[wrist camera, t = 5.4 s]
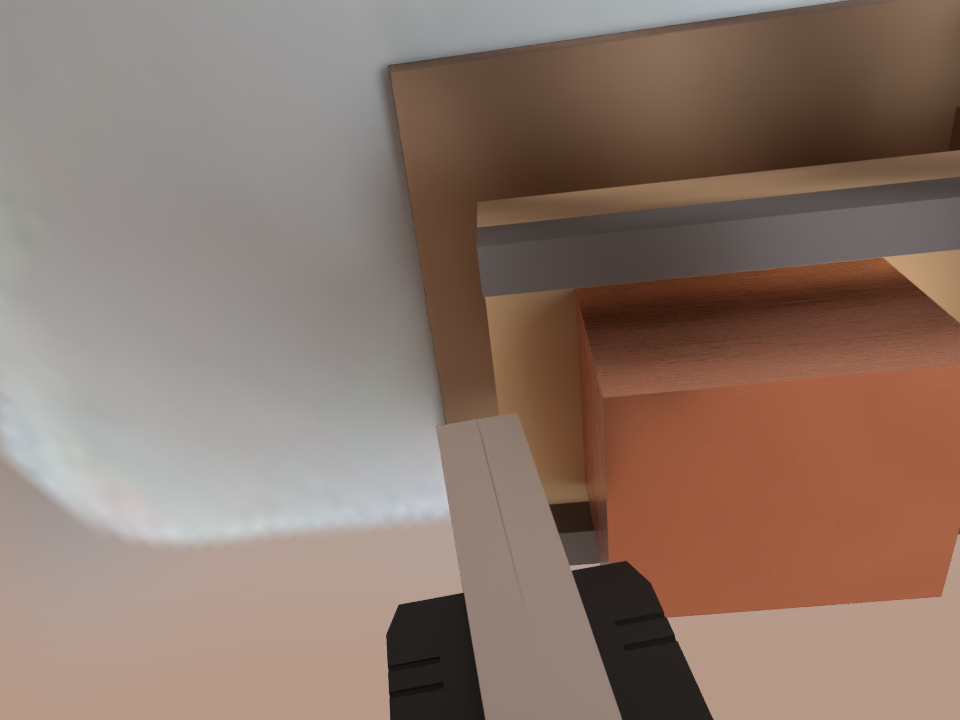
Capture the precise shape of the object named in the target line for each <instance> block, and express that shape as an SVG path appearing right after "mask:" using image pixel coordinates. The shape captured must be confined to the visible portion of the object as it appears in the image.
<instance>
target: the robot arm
mask: <svg viewBox="0 0 960 720" xmlns="http://www.w3.org/2000/svg"><path fill="white" fill-rule="evenodd" d="M436 429H437V435H438V441H439V447H440V453H441V460H442V466H443V472H444V478H445V485H446V491H447V497H448V503H449V509H450V516H451V522H452V528H453V534H454V540H455V546H456V552H457V558H458V564H459V570H460V576H461V582H462V588H463V593H460V594H455V595H449V596H444V597H438V598H433V599H428V600H423V601H417V602H412V603H406V604H401V605H399V606H398V608H397V610H396V613H395V615H394V617H393V620H392V622H391V625H390V627H389V630H388V632H387V635H386V638H387V659H388V669H389V673H388V678H389V694H390V720H713V718H712V716H711V714H710V711H709V709H708V707H707V705H706V703H705V701H704V698H703V696H702V694H701V692H700V689H699V687H698V685H697V683H696V681H695V679H694V676H693V674H692V672H691V670H690V668H689V665H688V663H687V661H686V659H685V657H684V654H683V652H682V650H681V648H680V646H679V644H678V642H677V641H676V639H675V635H674V633H673V630H672V628H671V626H670V624H669V622H668V619H667V617H665V615H664V611H663V608H662V606H661V604H660V602H659V600H658V598H657V595H656V593H655V591H654V589H653V587H652V584H651V583H650V582H649V581H648V580H647V579H646V578H645V577H644V576H643V575H642V574H640V573H639V572H638V571H637V570H636V569H635V568H634V567H633V566H632V565H631V564H630V563H628V562H627V561H622V562H616V563H611V564H606V565H600V566H596V567H589V568H584V569H579V570H574V571H571V569H570V565H569V562H568V560H567V557H566V554H565V551H564V548H563V545H562V542H561V539H560V536H559V533H558V530H557V527H556V524H555V521H554V519H553V516H552V513H551V510H550V507H549V504H548V501H547V498H546V495H545V492H544V489H543V486H542V483H541V480H540V478H539V475H538V472H537V469H536V466H535V463H534V460H533V457H532V454H531V451H530V448H529V445H528V442H527V439H526V437H525V434H524V431H523V428H522V425H521V422H520V419H519V416H518V413H511V414H505V415H499V416H493V417H488V418H482V419H476V420H470V421H464V422H458V423H452V424H446V425H440V426H436Z"/></svg>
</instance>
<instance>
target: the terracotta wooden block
mask: <svg viewBox="0 0 960 720" xmlns="http://www.w3.org/2000/svg"><path fill="white" fill-rule="evenodd" d="M575 297H576V316H577V334H578V353H579V372H580V390H581V409H582V428H583V447H584V465H585V484H586V490H587V495H588V500H589V506H590V511H591V517H592V522H593V527H594V533H595V538H596V544H597V549H598V554H599V560H600V565H606V564H611V563H616V562H622V561H627V562H628V563H630V564H631V565H632V566H633V567H634V568H635V569H636V570H637V571H638V572H639V573H640V574H642V575H643V576H644V577H645V578H646V579H647V580H648V581H649V582H650V583H651V584H652V587H653V589H654V591H655V593H656V595H657V598H658V600H659V602H660V604H661V606H662V608H663V611H664V615H665V617H680V616H693V615H707V614H720V613H733V612H746V611H759V610H771V609H784V608H798V607H811V606H824V605H836V604H850V603H862V602H876V601H889V600H902V599H914V598H928V597H941V595H942V591H943V588H944V584H945V580H946V576H947V573H948V569H949V565H950V562H951V558H952V554H953V550H954V546H955V543H956V539H957V535H958V531H959V528H960V323H959V322H958V321H957V320H956V319H954V318H953V317H952V316H951V315H950V314H948V313H947V312H946V311H945V310H944V309H943V308H941V307H940V306H939V305H938V304H937V303H936V302H934V301H933V300H932V299H931V298H930V297H929V296H927V295H926V294H925V293H924V292H923V291H922V290H920V289H919V288H918V287H917V286H916V285H915V284H913V283H912V282H911V281H910V280H909V279H908V278H906V277H905V276H904V275H903V274H902V273H900V272H899V271H898V270H897V269H896V268H895V267H893V266H892V265H891V264H890V263H889V262H888V261H886V260H885V259H884V258H876V259H866V260H856V261H846V262H836V263H826V264H816V265H806V266H796V267H786V268H776V269H766V270H756V271H746V272H736V273H726V274H716V275H706V276H696V277H686V278H676V279H666V280H656V281H646V282H636V283H626V284H616V285H606V286H596V287H587V288H577V289H575Z"/></svg>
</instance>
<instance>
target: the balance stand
mask: <svg viewBox="0 0 960 720" xmlns="http://www.w3.org/2000/svg"><path fill="white" fill-rule="evenodd" d="M388 66H389V72H390V79H391V85H392V91H393V97H394V103H395V110H396V116H397V122H398V128H399V135H400V141H401V147H402V153H403V159H404V166H405V172H406V178H407V184H408V190H409V197H410V203H411V209H412V215H413V222H414V228H415V234H416V240H417V246H418V253H419V259H420V265H421V271H422V277H423V284H424V290H425V296H426V302H427V309H428V315H429V321H430V327H431V333H432V340H433V346H434V352H435V358H436V364H437V371H438V377H439V383H440V389H441V396H442V402H443V408H444V414H445V420H446V424H452V423H458V422H464V421H470V420H476V419H482V418H488V417H493V416H499V410H498V402H497V393H496V385H495V376H494V368H493V359H492V351H491V342H490V334H489V326H488V317H487V309H486V300H485V297H483V295H482V287H481V278H480V270H479V262H478V253H477V202H482V201H491V200H500V199H510V198H519V197H528V196H538V195H547V194H556V193H566V192H575V191H584V190H594V189H603V188H612V187H622V186H631V185H640V184H650V183H659V182H668V181H678V180H687V179H696V178H706V177H715V176H724V175H734V174H743V173H752V172H762V171H771V170H780V169H790V168H799V167H808V166H818V165H827V164H836V163H846V162H855V161H864V160H874V159H883V158H892V157H902V156H911V155H920V154H930V153H939V152H948V151H958V150H960V0H850V1H843V2H836V3H829V4H822V5H815V6H808V7H800V8H793V9H786V10H779V11H772V12H765V13H758V14H751V15H744V16H736V17H729V18H722V19H715V20H708V21H701V22H694V23H687V24H680V25H672V26H665V27H658V28H651V29H644V30H637V31H630V32H623V33H616V34H608V35H601V36H594V37H587V38H580V39H573V40H566V41H559V42H552V43H544V44H537V45H530V46H523V47H516V48H509V49H502V50H495V51H488V52H480V53H473V54H466V55H459V56H452V57H445V58H438V59H431V60H423V61H416V62H409V63H402V64H395V65H388Z"/></svg>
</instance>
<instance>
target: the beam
mask: <svg viewBox="0 0 960 720" xmlns="http://www.w3.org/2000/svg"><path fill="white" fill-rule="evenodd" d="M477 253H478V262H479V270H480V278H481V287H482V295H483V297H485V300H486V309H487V317H488V326H489V334H490V342H491V351H492V359H493V368H494V376H495V385H496V393H497V402H498V410H499V415H505V414H511V413H518V416H519V419H520V422H521V425H522V428H523V431H524V434H525V437H526V439H527V442H528V445H529V448H530V451H531V454H532V457H533V460H534V463H535V466H536V469H537V472H538V475H539V478H540V480H541V483H542V486H543V489H544V492H545V495H546V498H547V501H548V504H549V507H550V510H551V513H552V516H553V519H554V521H555V524H556V527H557V530H558V533H559V536H560V539H561V542H562V545H563V548H564V551H565V554H566V557H567V560H568V562H569V565H582V564H595V563H600V560H599V554H598V549H597V544H596V538H595V533H594V527H593V522H592V517H591V511H590V506H589V500H588V495H587V490H586V484H585V465H584V447H583V428H582V409H581V390H580V372H579V353H578V334H577V316H576V297H575V289H577V288H587V287H596V286H606V285H616V284H626V283H636V282H646V281H656V280H666V279H676V278H686V277H696V276H706V275H716V274H726V273H736V272H746V271H756V270H766V269H776V268H786V267H796V266H806V265H816V264H826V263H836V262H846V261H856V260H866V259H876V258H884V259H885V260H886V261H888V262H889V263H890V264H891V265H892V266H893V267H895V268H896V269H897V270H898V271H899V272H900V273H902V274H903V275H904V276H905V277H906V278H908V279H909V280H910V281H911V282H912V283H913V284H915V285H916V286H917V287H918V288H919V289H920V290H922V291H923V292H924V293H925V294H926V295H927V296H929V297H930V298H931V299H932V300H933V301H934V302H936V303H937V304H938V305H939V306H940V307H941V308H943V309H944V310H945V311H946V312H947V313H948V314H950V315H951V316H952V317H953V318H954V319H956V320H957V321H958V322H959V323H960V150H958V151H948V152H939V153H930V154H920V155H911V156H902V157H892V158H883V159H874V160H864V161H855V162H846V163H836V164H827V165H818V166H808V167H799V168H790V169H780V170H771V171H762V172H752V173H743V174H734V175H724V176H715V177H706V178H696V179H687V180H678V181H668V182H659V183H650V184H640V185H631V186H622V187H612V188H603V189H594V190H584V191H575V192H566V193H556V194H547V195H538V196H528V197H519V198H510V199H500V200H491V201H482V202H477ZM958 534H960V528H959V531H958Z"/></svg>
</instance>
